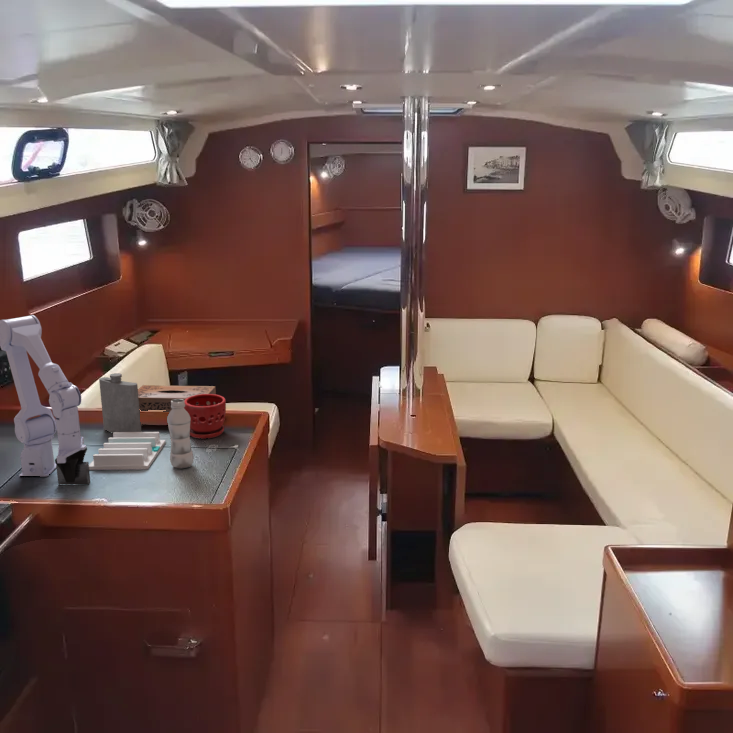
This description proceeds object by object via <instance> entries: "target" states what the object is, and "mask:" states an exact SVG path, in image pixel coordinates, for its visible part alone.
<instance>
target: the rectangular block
mask: <svg viewBox="0 0 733 733" xmlns="http://www.w3.org/2000/svg"><path fill="white" fill-rule="evenodd" d="M89 465H90V463H89V461H83V462H77V463H76V468H75V481H74V482H73V483H66V481H65V479H64V476H63V474H62V472H61V470H60V468H59V467H58V466H57V465H56V468H55V470H56V474H57V483H58V484H88V485H89V484H90V483H91V474H90V470H89Z"/></svg>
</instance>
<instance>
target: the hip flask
mask: <svg viewBox="0 0 733 733" xmlns="http://www.w3.org/2000/svg"><path fill="white" fill-rule="evenodd" d="M122 377H123V376H122V373H120V372H118V373H112V374H109V377H106V376H104V377H100V378H99V379H98V382H99V392H100V393H99V394H100V402H101V409H102V410H101V413H102V423H103V424H102V425H103V430H104V431H105V430H107V431H109V432H112V433H114V432H142V425H141V422H140V410H139V398H138V389H139V386H138V383H137V382H133V381H124V380H122ZM107 431H106V432H107ZM109 432H108V433H109ZM112 433H111V434H112Z"/></svg>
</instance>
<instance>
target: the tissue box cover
mask: <svg viewBox="0 0 733 733" xmlns="http://www.w3.org/2000/svg"><path fill="white" fill-rule="evenodd" d="M216 391H217V390H216V385H215V386H213V385H211V386H209V385H159V384H158V385H149V384H148V385H147V384H146V385H144V384H143V385H141V386H140V387H138V398H139V409H140V410H141V411H148V410H166V411H163V412H169V413H170V411H171V410H172V408H171V401H172V400H174V399H183V400H184V401H185V399H186V398H188V397H190V396H194V395H199V394H216V393H217V392H216ZM216 395H217V394H216ZM206 404H207V405H210V402H209V401H207V402H206ZM214 404H216V403H215V402H214ZM196 405H198V402H197V403H196Z"/></svg>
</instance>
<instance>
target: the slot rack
mask: <svg viewBox="0 0 733 733" xmlns="http://www.w3.org/2000/svg"><path fill="white" fill-rule="evenodd" d="M160 437H161V436H160V432H159V431H141V432H114V433H113V434H112V437H108V438H107V440H108V441H107V442H104V443H103V448H98V449H97V450H98V454H97V453H95V454H93V455H92V459H93V460H92V461H91V462H90V463H89V471H97V470H98V471H100V470H101V471H102V470H103V471H104V470H105V471H106V470H108V471H109V470H117V471H118V470H149V468H150V467H151V465H152V464H153V462H154V461H155V460H156V458H157V456H158V454H160V452H161V451H162V449H163V448H164V446H165V444H166V439H161V438H160Z"/></svg>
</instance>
